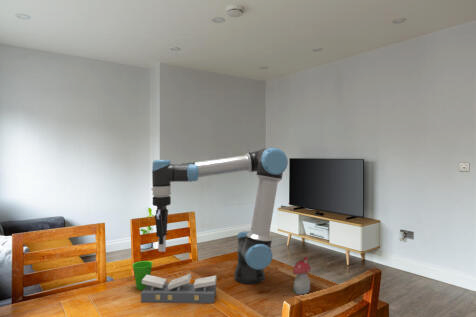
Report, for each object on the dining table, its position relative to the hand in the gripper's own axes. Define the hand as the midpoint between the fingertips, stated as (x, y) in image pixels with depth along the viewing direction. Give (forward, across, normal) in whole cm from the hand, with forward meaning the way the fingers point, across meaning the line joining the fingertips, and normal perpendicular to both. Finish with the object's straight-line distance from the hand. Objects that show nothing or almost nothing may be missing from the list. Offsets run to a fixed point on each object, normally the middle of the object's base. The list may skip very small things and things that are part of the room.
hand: (162, 250), depth 134 cm
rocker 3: (+13, 0, +18) cm, 23 cm away
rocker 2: (+13, 0, +8) cm, 15 cm away
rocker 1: (+13, 0, -4) cm, 13 cm away
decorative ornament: (+21, -7, +60) cm, 64 cm away
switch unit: (+20, 0, +8) cm, 21 cm away
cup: (+20, -9, -12) cm, 25 cm away
